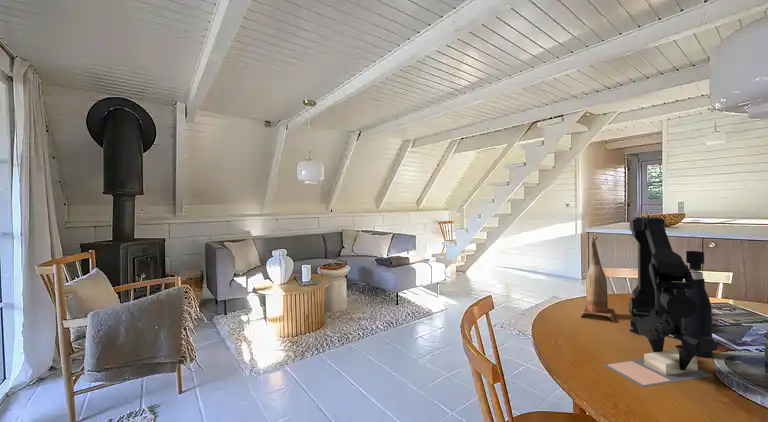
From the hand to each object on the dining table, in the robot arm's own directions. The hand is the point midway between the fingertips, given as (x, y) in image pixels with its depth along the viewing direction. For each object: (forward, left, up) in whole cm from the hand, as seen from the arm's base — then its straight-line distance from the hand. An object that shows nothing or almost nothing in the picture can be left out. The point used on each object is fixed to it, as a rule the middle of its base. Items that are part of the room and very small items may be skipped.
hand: (670, 364), depth 92 cm
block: (0, 0, -1) cm, 1 cm away
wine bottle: (-15, -5, -2) cm, 16 cm away
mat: (+5, 0, -1) cm, 5 cm away
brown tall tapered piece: (-15, -41, -2) cm, 44 cm away
